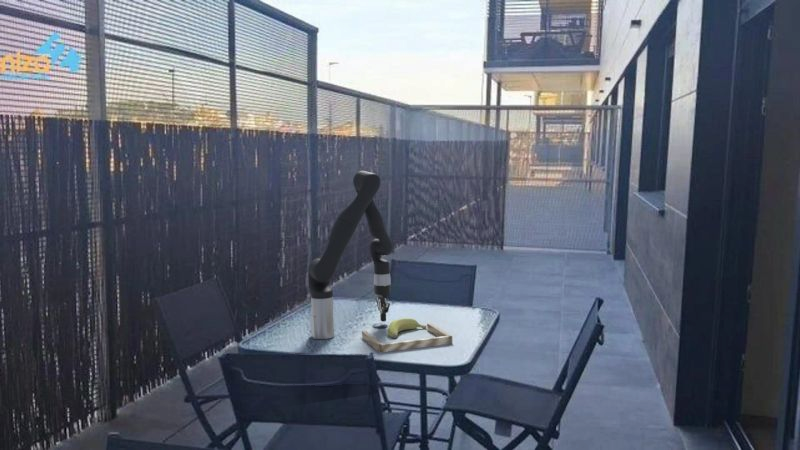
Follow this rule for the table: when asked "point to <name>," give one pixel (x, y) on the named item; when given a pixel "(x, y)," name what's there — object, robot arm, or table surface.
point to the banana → (402, 326)
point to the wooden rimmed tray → (410, 341)
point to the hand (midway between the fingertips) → (383, 321)
